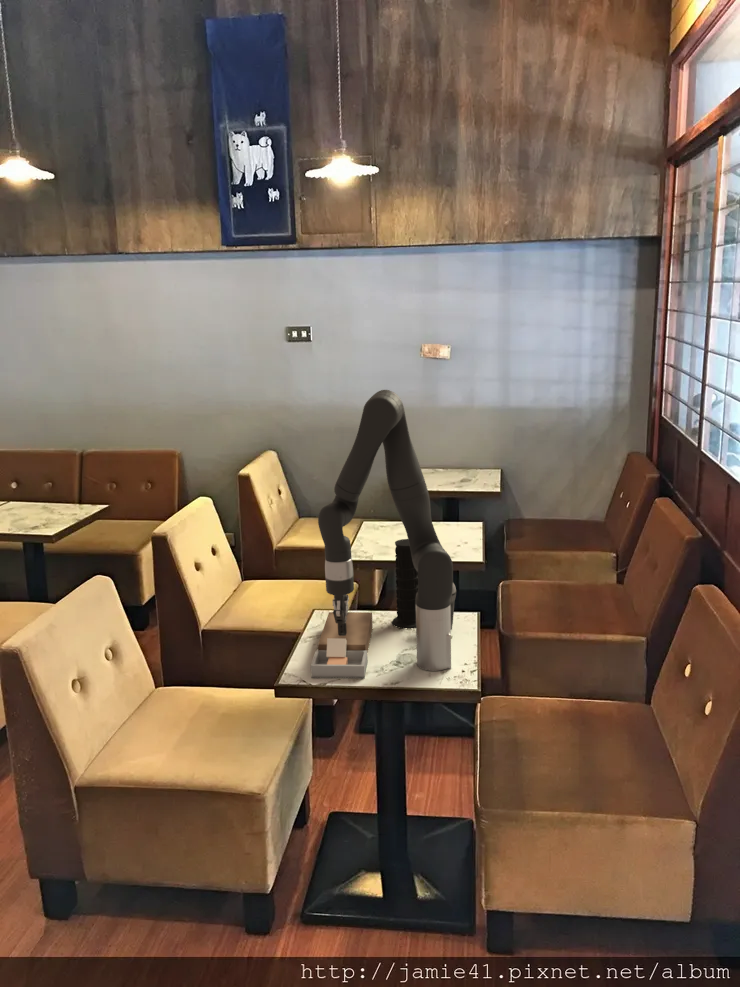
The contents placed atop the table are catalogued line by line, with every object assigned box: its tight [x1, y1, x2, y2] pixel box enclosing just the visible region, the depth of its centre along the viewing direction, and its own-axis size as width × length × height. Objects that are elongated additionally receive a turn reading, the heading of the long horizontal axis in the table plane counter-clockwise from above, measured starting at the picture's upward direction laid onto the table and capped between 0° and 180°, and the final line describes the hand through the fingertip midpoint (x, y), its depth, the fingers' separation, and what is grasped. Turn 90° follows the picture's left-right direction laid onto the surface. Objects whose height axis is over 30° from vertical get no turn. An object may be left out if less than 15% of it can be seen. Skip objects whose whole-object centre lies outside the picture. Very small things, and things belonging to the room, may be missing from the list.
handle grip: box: [391, 538, 418, 630], centre depth 246 cm, size 10×26×10 cm
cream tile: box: [326, 638, 347, 659], centre depth 221 cm, size 5×5×2 cm
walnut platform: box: [317, 611, 374, 653], centre depth 234 cm, size 13×23×5 cm, turn 175°
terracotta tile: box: [327, 657, 348, 665], centre depth 217 cm, size 5×5×2 cm
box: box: [310, 649, 368, 679], centre depth 218 cm, size 14×10×4 cm
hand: (342, 634), depth 223 cm, fingers closed
